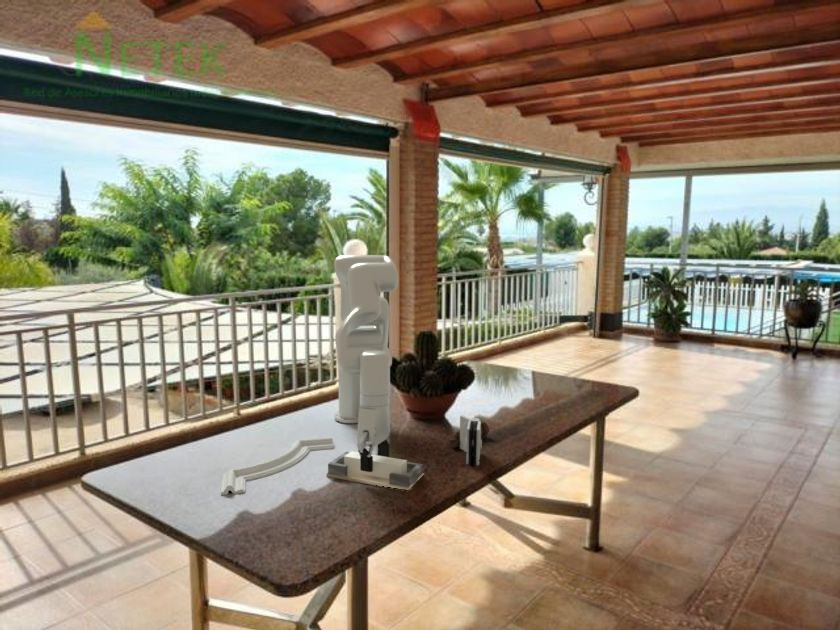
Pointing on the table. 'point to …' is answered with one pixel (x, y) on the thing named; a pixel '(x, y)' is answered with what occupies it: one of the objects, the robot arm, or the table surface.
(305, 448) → the molding
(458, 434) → the bolt
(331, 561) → the table surface
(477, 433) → the hinge
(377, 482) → the cream and grey fixture
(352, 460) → the slat
